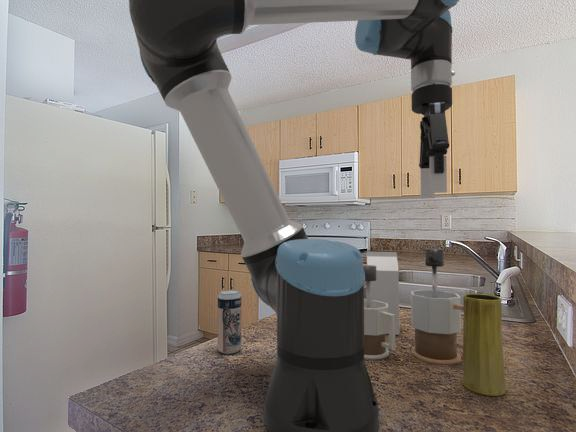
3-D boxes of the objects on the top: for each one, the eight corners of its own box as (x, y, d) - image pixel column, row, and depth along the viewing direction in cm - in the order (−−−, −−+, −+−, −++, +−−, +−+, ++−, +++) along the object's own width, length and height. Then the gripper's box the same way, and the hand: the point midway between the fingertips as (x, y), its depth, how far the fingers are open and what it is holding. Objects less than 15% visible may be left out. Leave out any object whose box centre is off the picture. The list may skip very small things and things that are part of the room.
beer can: (227, 357, 66) (227, 295, 66) (212, 351, 69) (213, 292, 70) (246, 350, 70) (246, 291, 70) (231, 344, 73) (231, 288, 73)
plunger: (439, 329, 63) (438, 251, 63) (410, 321, 68) (409, 249, 68) (460, 324, 66) (459, 249, 66) (431, 316, 71) (430, 247, 72)
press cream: (378, 368, 61) (377, 271, 61) (341, 349, 70) (340, 265, 70) (408, 359, 65) (407, 268, 65) (369, 342, 74) (368, 263, 74)
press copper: (456, 374, 58) (455, 304, 58) (402, 352, 68) (401, 292, 69) (486, 364, 63) (484, 298, 63) (430, 344, 73) (430, 288, 73)
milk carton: (399, 335, 79) (398, 253, 79) (367, 333, 80) (367, 253, 81) (396, 326, 86) (395, 251, 86) (367, 325, 87) (366, 250, 88)
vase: (514, 398, 50) (512, 301, 51) (469, 395, 51) (467, 300, 52) (496, 379, 56) (494, 293, 57) (456, 377, 57) (455, 292, 58)
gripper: (467, 57, 55) (469, 188, 54) (440, 108, 79) (441, 199, 79) (418, 63, 57) (419, 189, 56) (406, 111, 81) (407, 200, 80)
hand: (432, 195), depth 67 cm, fingers open, 13 cm apart
